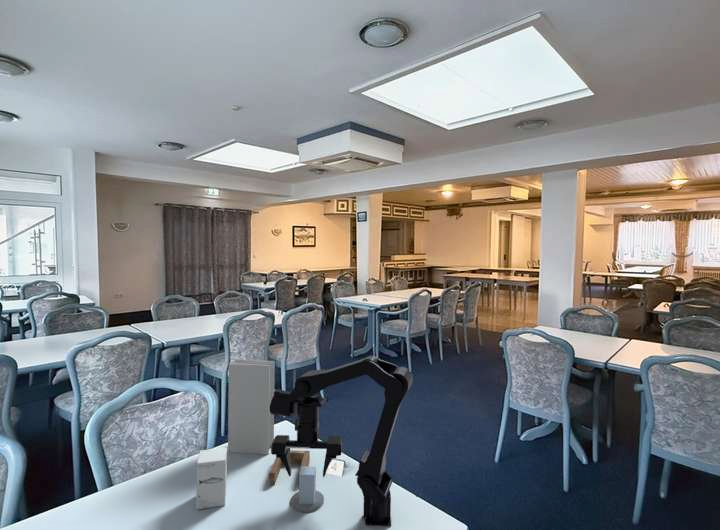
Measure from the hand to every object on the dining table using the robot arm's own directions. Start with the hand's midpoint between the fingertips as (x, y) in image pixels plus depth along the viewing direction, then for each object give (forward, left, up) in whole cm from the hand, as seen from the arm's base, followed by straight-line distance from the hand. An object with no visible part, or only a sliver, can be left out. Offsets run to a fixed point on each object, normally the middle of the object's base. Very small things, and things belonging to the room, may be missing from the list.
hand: (306, 475), depth 106 cm
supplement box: (+26, 0, -7) cm, 27 cm away
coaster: (0, 0, -7) cm, 7 cm away
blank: (0, 0, -6) cm, 7 cm away
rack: (+7, -14, -7) cm, 17 cm away
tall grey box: (+23, -28, -7) cm, 37 cm away
